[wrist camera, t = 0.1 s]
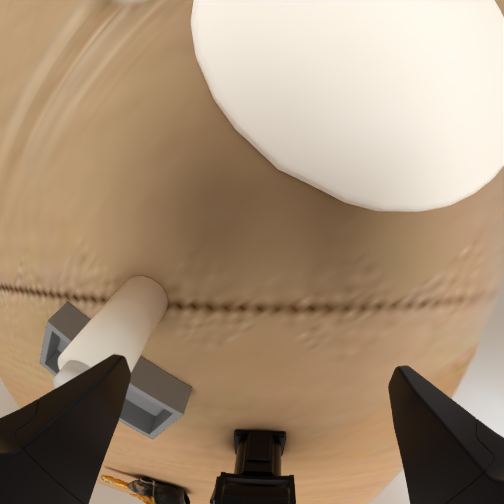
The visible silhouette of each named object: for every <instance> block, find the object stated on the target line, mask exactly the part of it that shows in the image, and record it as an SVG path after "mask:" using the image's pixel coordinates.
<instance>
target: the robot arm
mask: <svg viewBox="0 0 504 504" xmlns="http://www.w3.org/2000/svg"><path fill="white" fill-rule="evenodd" d="M130 380H131V372H130V369H129V366H128V363H127V360H126V358H125V356H123V355H118V354H113V355H111V356H109V357H108V358H106V359H104V360H103V361H101V362H99V363H98V364H96V365H94V366H93V367H91V368H89V369H88V370H86V371H84V372H83V373H81V374H79V375H78V376H76V377H74V378H73V379H71V380H69V381H68V382H66V383H64V384H63V385H61V386H59V387H57V388H56V389H54V390H52V391H51V392H49V393H47V394H46V395H44V396H42V397H40V398H39V399H37V400H35V401H34V402H32V403H30V404H28V405H26V406H25V407H23V408H21V409H19V410H17V411H15V412H13V413H11V414H9V415H6V416H4V417H2V418H0V504H89V501H90V498H91V495H92V492H93V488H94V486H95V483H96V480H97V477H98V474H99V471H100V469H101V466H102V463H103V460H104V457H105V455H106V452H107V449H108V447H109V444H110V441H111V439H112V436H113V433H114V431H115V428H116V426H117V423H118V421H119V418H120V415H121V412H122V409H123V405H124V401H125V398H126V394H127V390H128V387H129V383H130ZM388 388H389V396H390V402H391V409H392V416H393V423H394V429H395V433H396V437H397V441H398V445H399V450H400V454H401V459H402V463H403V468H404V472H405V477H406V482H407V488H408V493H409V499H410V504H504V438H503V437H502V436H500V435H499V434H497V433H495V432H494V431H493V430H491V429H490V428H488V427H487V426H485V425H484V424H483V423H482V422H481V421H479V420H478V419H476V418H475V417H474V416H472V415H471V414H470V413H469V412H468V411H466V410H465V409H464V408H462V407H461V406H460V405H458V404H457V403H456V402H455V401H453V400H452V399H451V398H449V397H448V396H447V395H446V394H444V393H443V392H442V391H440V390H439V389H438V388H436V387H435V386H434V385H433V384H431V383H430V382H429V381H427V380H426V379H425V378H423V377H422V376H421V375H420V374H418V373H417V372H416V371H414V370H413V369H412V368H410V367H409V366H398V367H396V368H395V370H394V373H393V375H392V378H391V380H390V382H389V387H388ZM285 440H286V433H285V432H259V431H241V430H236V431H234V441H235V454H236V463H235V471H234V474H231V473H226V472H221V475H220V476H218V477H217V479H216V485H215V489H214V491H213V494H212V497H211V499H210V504H296V497H295V484H294V475H289V476H281V456H282V455H283V450H284V445H285Z"/></svg>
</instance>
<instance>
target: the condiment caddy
mask: <svg viewBox="0 0 504 504" xmlns="http://www.w3.org/2000/svg"><path fill="white" fill-rule="evenodd" d="M89 321H90V319H89V318H87V317H86V316H85V315H84V314H82V313H81V312H80V311H79V310H77V309H76V308H75V307H74V306H73V305H71V304H70V303H69V302H67V303H66V304H65V305H64V306H63V307H62V308H61V309H60V310H59V311H57V312H56V313H55V314H54V315H53V316H52V317H51V318H50V319H49V320H48V321H47V326H46V330H45V335H44V340H43V345H42V351H41V357H40V364H41V365H43V366H44V367H45V368H46V369H47V370H49V371H50V372H51V373H52V374H53V375H55V376H56V375H57V374H58V372H59V371H60V370H59V367H58V358H59V356H60V355H61V354H62V352H63V351H64V350H65V349H66V348H67V346H68V345H69V344H70V343H71V342H72V341H73V339H74V338H75V337H76V336H77V335H78V334H79V333H80V331H81V330H82V329H83V328H84V327H85V326H86V325H87V323H88V322H89ZM191 389H192V387H190V386H189V385H187V384H185V383H183V382H182V381H180V380H178V379H177V378H175V377H173V376H171V375H170V374H168V373H166V372H165V371H163V370H162V369H160V368H158V367H157V366H155V365H154V364H152V363H150V362H149V361H147V360H146V359H144V358H143V357H141V356H140V358H139V359H138V361H137V363H136V365H135V366H134V368H133V370H132V372H131V380H130V383H129V387H128V390H127V394H126V398H125V401H124V405H123V409H122V412H121V415H120V418H119V421H121V422H122V423H124V424H126V425H127V426H129V427H131V428H133V429H134V430H136V431H138V432H140V433H141V434H143V435H145V436H147V437H149V438H151V439H154V438H155V437H157V436H158V435H159V434H160V433H162V432H163V431H164V430H165V429H166V428H168V427H169V426H170V425H171V424H173V423H174V422H175V421H176V420H177V419H179V418H180V417H181V416H182V415H183V414H184V411H185V408H186V405H187V402H188V398H189V395H190V392H191Z"/></svg>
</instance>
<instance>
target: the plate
mask: <svg viewBox="0 0 504 504" xmlns="http://www.w3.org/2000/svg"><path fill="white" fill-rule="evenodd" d="M191 28H192V35H193V42H194V48H195V55H196V59H197V62H198V64H199V66H200V68H201V71H202V73H203V75H204V78H205V80H206V82H207V85H208V87H209V89H210V92H211V94H212V96H213V99H214V101H215V102H216V103H217V105H218V106H219V107H220V109H221V110H222V111H223V113H224V114H225V116H226V117H227V118H228V120H229V121H230V123H231V124H232V125H233V127H234V128H235V130H237V131H238V132H239V133H240V134H241V135H242V136H243V137H244V138H245V139H246V140H247V141H249V142H250V143H251V144H252V145H253V146H254V147H255V148H256V149H257V150H258V151H259V152H260V153H261V154H262V155H263V156H264V157H265V158H266V159H268V160H269V161H270V162H271V163H272V164H273V165H274V166H275V167H276V168H277V169H278V170H280V171H282V172H285V173H287V174H289V175H291V176H293V177H295V178H297V179H299V180H301V181H303V182H305V183H307V184H309V185H311V186H313V187H315V188H317V189H319V190H321V191H323V192H325V193H327V194H329V195H331V196H333V197H335V198H337V199H339V200H341V201H342V202H344V203H348V204H351V205H355V206H359V207H363V208H367V209H370V210H374V211H395V212H422V211H427V210H432V209H436V208H441V207H446V206H450V205H452V204H454V203H456V202H458V201H460V200H462V199H464V198H466V197H468V196H470V195H472V194H474V193H475V192H477V191H478V190H479V189H481V188H482V187H483V186H484V185H486V184H487V183H488V182H489V181H491V180H492V179H493V178H494V177H495V175H496V174H497V173H498V172H499V171H500V170H501V168H502V167H503V166H504V17H503V15H502V13H501V11H500V9H499V7H498V6H497V4H496V2H495V0H194V2H193V9H192V16H191Z"/></svg>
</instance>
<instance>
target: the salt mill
mask: <svg viewBox="0 0 504 504" xmlns="http://www.w3.org/2000/svg"><path fill="white" fill-rule="evenodd" d="M167 308H168V299H167V296H166V293H165V291H164V290H163V288H162V287H161V286H160V285H159V284H158V283H157V282H156V281H154V280H153V279H151V278H148V277H145V276H134V277H131V278H130V279H128V280H127V281H126V282H125V283H124V284H123V285H122V287H121V288H120V289H119V290H118V291H117V292H116V293H115V294H114V295H113V296H112V297H111V298H110V299H109V300H108V301H107V303H106V304H105V305H104V306H103V307H102V308H101V309H100V310H99V311H98V312H97V313H96V315H95V316H94V317H93V318H92V319H91V320H90V321H89V322H88V323H87V325H86V326H85V327H84V328H83V329H82V330H81V331H80V333H79V334H78V335H77V336H76V337H75V338H74V339H73V341H72V342H71V343H70V344H69V345H68V346H67V348H66V349H65V350H64V351H63V352H62V354H61V355H60V356H59V358H58V367H59V370H60V371H59V372H58V374H57V375H56V376H55V378H54V379H53V385H54V387H55V389H56V388H57V387H59V386H61V385H63V384H64V383H66V382H68V381H69V380H71V379H73V378H74V377H76V376H78V375H79V374H81V373H83V372H84V371H86V370H88V369H89V368H91V367H93V366H94V365H96V364H98V363H99V362H101V361H103V360H104V359H106V358H108V357H109V356H111V355H113V354H118V355H123V356H125V358H126V360H127V363H128V366H129V369H130V372H132V370H133V368H134V366H135V365H136V363H137V361H138V359H139V358H140V356H141V354H142V352H143V350H144V349H145V347H146V345H147V343H148V342H149V340H150V338H151V336H152V335H153V333H154V331H155V330H156V328H157V326H158V324H159V323H160V321H161V319H162V318H163V316H164V314H165V312H166V311H167Z"/></svg>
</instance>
